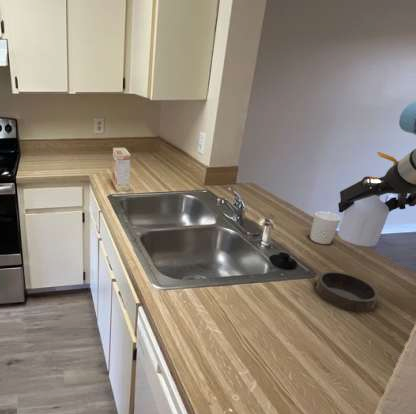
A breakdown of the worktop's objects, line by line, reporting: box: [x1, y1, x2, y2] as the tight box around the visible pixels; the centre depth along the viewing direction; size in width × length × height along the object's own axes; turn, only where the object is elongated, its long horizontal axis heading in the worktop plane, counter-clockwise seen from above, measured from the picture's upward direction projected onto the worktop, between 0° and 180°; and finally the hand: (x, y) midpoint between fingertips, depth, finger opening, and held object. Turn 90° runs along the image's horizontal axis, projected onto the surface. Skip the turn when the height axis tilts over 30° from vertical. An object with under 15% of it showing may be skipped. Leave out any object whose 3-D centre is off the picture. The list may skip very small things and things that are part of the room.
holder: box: [315, 271, 379, 313], centre depth 93 cm, size 14×14×4 cm
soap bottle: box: [337, 151, 399, 247], centre depth 88 cm, size 9×9×25 cm
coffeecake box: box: [112, 147, 131, 192], centre depth 175 cm, size 15×7×20 cm, turn 6°
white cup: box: [309, 210, 342, 245], centre depth 122 cm, size 8×8×10 cm
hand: (360, 209), depth 93 cm, fingers closed on soap bottle, 9 cm apart
